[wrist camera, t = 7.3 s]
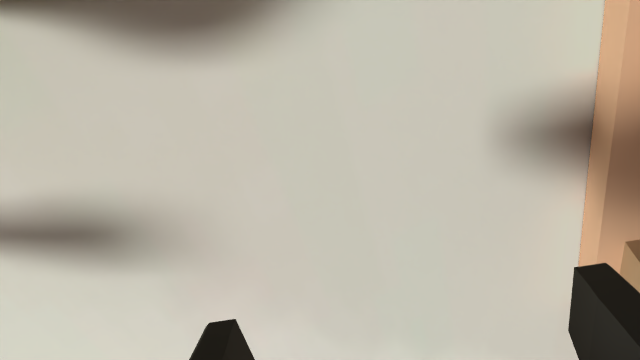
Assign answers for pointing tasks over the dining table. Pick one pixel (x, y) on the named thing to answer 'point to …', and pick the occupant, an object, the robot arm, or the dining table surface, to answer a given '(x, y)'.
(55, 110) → the dining table surface
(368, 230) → the dining table surface
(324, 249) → the dining table surface
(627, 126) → the display stand
